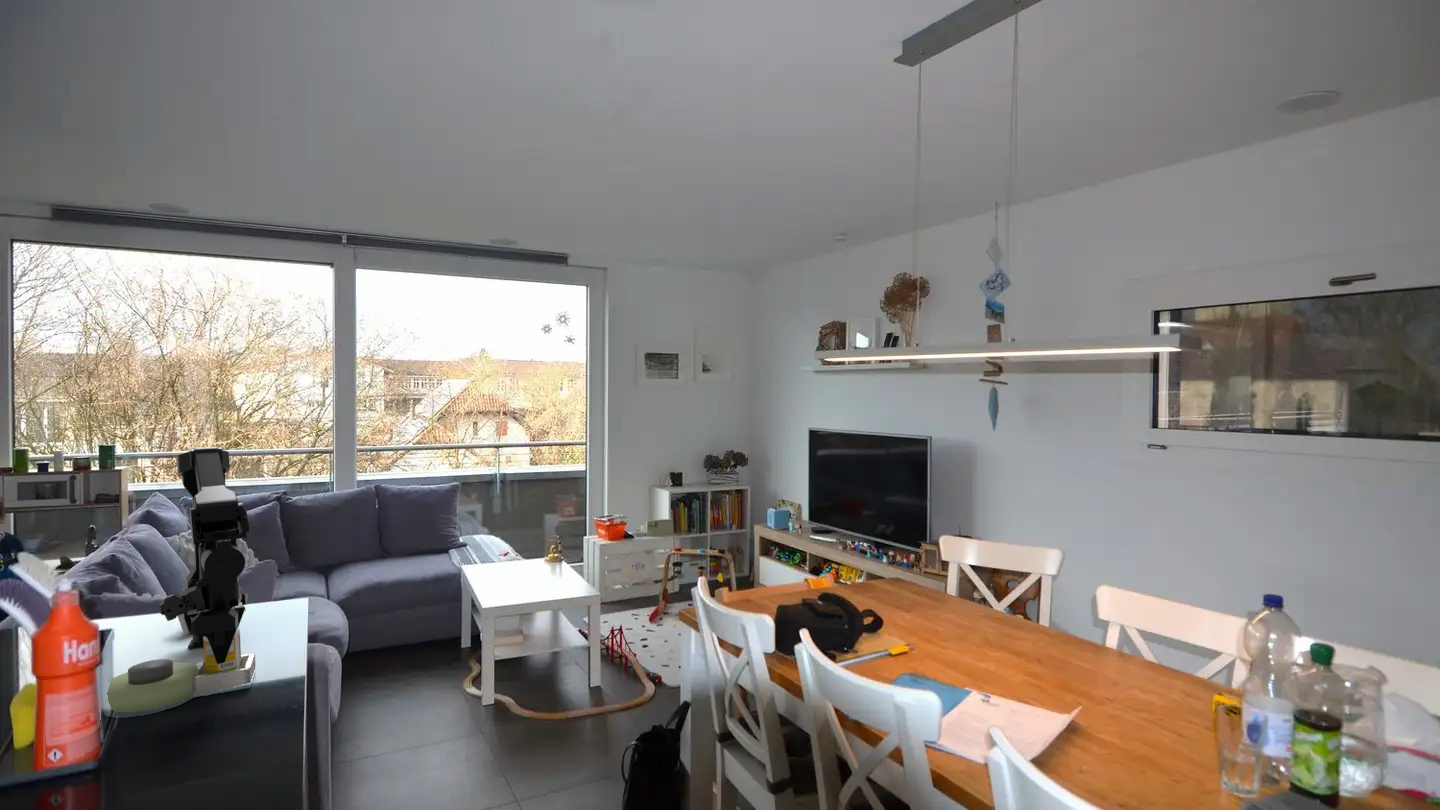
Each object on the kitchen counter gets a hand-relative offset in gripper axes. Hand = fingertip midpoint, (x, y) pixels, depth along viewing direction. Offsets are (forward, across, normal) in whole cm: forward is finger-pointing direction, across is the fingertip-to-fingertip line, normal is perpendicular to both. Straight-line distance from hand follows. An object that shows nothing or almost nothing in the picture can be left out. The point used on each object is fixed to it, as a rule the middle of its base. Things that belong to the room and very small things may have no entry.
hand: (223, 657), depth 132 cm
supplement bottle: (+3, 0, 0) cm, 3 cm away
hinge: (+5, -44, -8) cm, 45 cm away
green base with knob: (+5, +2, -10) cm, 11 cm away
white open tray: (+5, 0, 0) cm, 5 cm away
